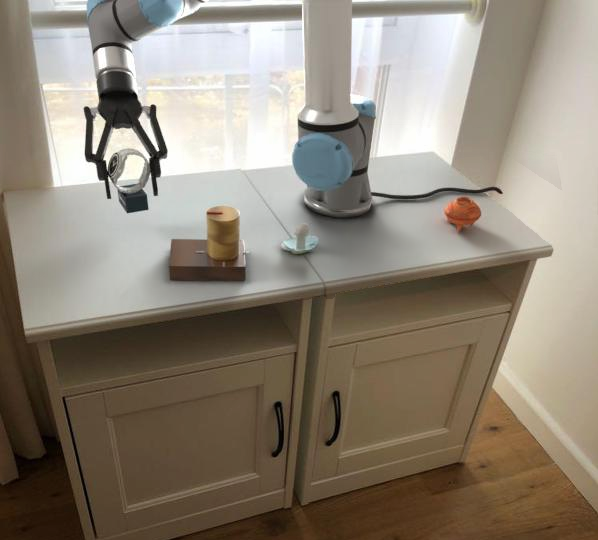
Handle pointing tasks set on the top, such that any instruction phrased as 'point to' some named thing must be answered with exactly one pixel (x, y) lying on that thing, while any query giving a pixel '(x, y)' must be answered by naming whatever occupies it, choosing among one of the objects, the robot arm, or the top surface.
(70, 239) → the top surface
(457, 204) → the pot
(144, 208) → the watch
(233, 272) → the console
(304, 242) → the pacifier
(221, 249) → the dial
